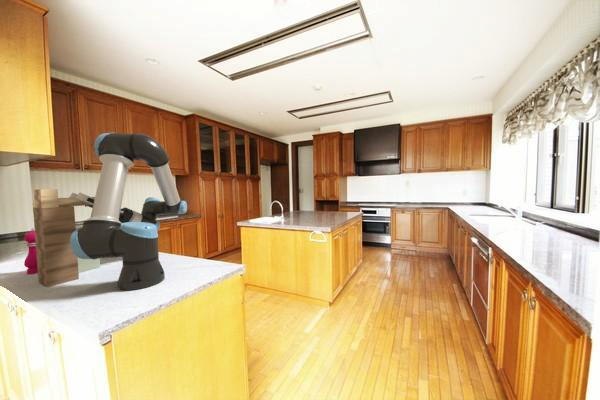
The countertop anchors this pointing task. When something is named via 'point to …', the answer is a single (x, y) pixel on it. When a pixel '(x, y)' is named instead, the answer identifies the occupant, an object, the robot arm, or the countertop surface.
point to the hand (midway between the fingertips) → (74, 195)
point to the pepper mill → (31, 253)
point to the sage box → (87, 262)
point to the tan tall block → (54, 199)
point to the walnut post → (55, 245)
